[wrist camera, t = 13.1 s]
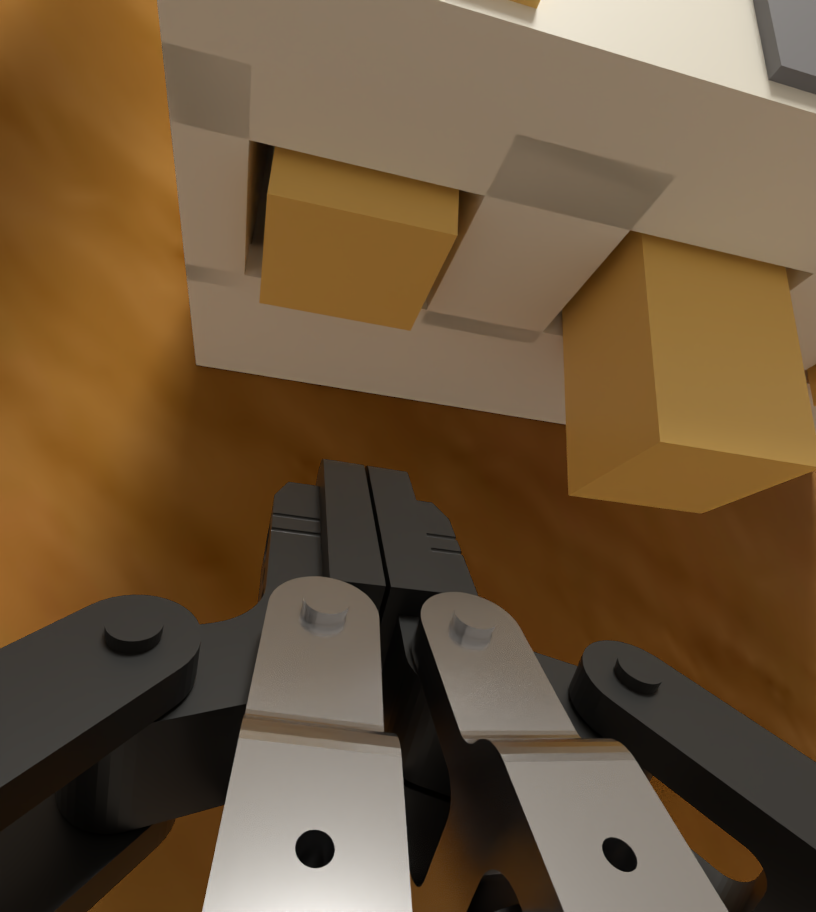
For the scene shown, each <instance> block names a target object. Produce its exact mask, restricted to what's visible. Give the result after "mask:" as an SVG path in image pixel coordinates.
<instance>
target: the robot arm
mask: <svg viewBox="0 0 816 912" xmlns="http://www.w3.org/2000/svg"><path fill="white" fill-rule="evenodd" d="M455 538H456V536H455V534H454V531H453V528H452V526H451V523H450V521H449V519H448V518H447V517H446V516H445V515H444V514H443V513H442V512H441V511H440V510H439V509H438V508H437V507H436V506H435V505H434V504H433V503H431V502H424V501H417V500H416V498H415V495H414V492H413V488H412V485H411V482H410V479H409V475H408V473H407V472H404V471H398V470H391V469H385V468H378V467H372V466H365V467H364V465H359V464H353V463H346V462H340V461H334V460H327V459H322V461H321V463H320V467H319V471H318V476H317V481H316V486H314V485H307V484H300V483H293V482H288V483H287V484H286V485H285V486H284V487H282V488H281V489H280V490H279V491H278V492H277V493H276V494H275V496H274V501H273V507H272V513H271V518H270V524H269V530H268V535H267V541H266V547H265V552H264V558H263V564H262V569H261V578H260V588H259V597H258V604H257V605H256V606H254V607H253V608H252V609H251V610H249V611H248V612H246V613H244V614H242V615H240V616H238V617H235V618H232V619H229V620H225V621H221V622H215V623H208V624H201V625H199V623H198V621H197V619H196V618H195V617H194V615H193V614H192V613H191V612H190V611H188V610H187V609H186V608H185V607H183V606H181V605H179V604H178V603H176V602H173V601H171V600H168V599H165V598H161V597H157V596H149V595H124V596H118V597H112V598H108V599H105V600H101V601H99V602H96V603H94V604H92V605H89V606H87V607H85V608H83V609H81V610H79V611H77V612H75V613H73V614H71V615H69V616H67V617H65V618H63V619H60V620H58V621H56V622H54V623H52V624H50V625H48V626H46V627H44V628H42V629H40V630H38V631H36V632H34V633H32V634H30V635H27V636H25V637H23V638H21V639H19V640H17V641H15V642H13V643H11V644H9V645H7V646H5V647H3V648H1V649H0V912H87V911H88V910H89V909H91V908H92V907H93V906H94V905H95V904H96V903H97V902H98V901H99V900H100V899H101V898H102V897H103V896H105V895H106V894H107V893H108V892H109V891H110V890H111V889H112V888H113V887H114V886H115V885H116V884H118V883H119V882H120V881H121V880H122V879H123V878H124V877H125V876H126V875H127V874H128V873H129V872H131V871H132V870H133V869H134V868H135V867H136V866H137V865H138V864H139V863H140V862H141V861H142V860H144V859H145V858H146V857H147V856H148V855H149V854H150V853H151V852H152V851H153V850H154V849H155V848H157V847H158V846H159V844H160V843H161V842H162V841H163V840H164V839H165V838H166V836H167V835H168V833H169V832H170V830H171V829H172V826H173V824H174V822H175V819H176V818H178V817H182V816H185V815H189V814H193V813H196V812H200V811H204V810H207V809H211V808H214V807H218V806H222V805H224V810H223V815H222V820H221V824H220V829H219V834H218V839H217V843H216V848H215V853H214V858H213V862H212V867H211V872H210V877H209V881H208V886H207V891H206V896H205V900H204V905H203V910H202V912H816V762H814V761H813V760H811V759H810V758H808V757H807V756H805V755H804V754H802V753H801V752H799V751H798V750H796V749H795V748H793V747H792V746H790V745H789V744H787V743H786V742H784V741H783V740H781V739H780V738H778V737H777V736H775V735H774V734H772V733H770V732H769V731H767V730H766V729H764V728H763V727H761V726H760V725H758V724H757V723H755V722H754V721H752V720H751V719H749V718H748V717H746V716H745V715H743V714H742V713H740V712H739V711H737V710H736V709H734V708H733V707H731V706H730V705H728V704H726V703H725V702H723V701H722V700H720V699H719V698H717V697H716V696H714V695H713V694H711V693H710V692H708V691H707V690H705V689H704V688H702V687H701V686H699V685H698V684H696V683H695V682H693V681H692V680H690V679H689V678H687V677H686V676H684V675H682V674H681V673H679V672H678V671H676V670H675V669H673V668H672V667H670V666H669V665H667V664H666V663H664V662H663V661H661V660H660V659H658V658H657V657H655V656H653V655H652V654H650V653H648V652H646V651H644V650H642V649H640V648H638V647H635V646H633V645H630V644H626V643H623V642H618V641H609V640H605V641H598V642H594V643H592V644H590V645H589V646H588V647H587V648H586V649H585V651H584V653H583V655H582V657H581V660H580V662H579V664H578V666H575V665H572V664H569V663H566V662H563V661H560V660H557V659H554V658H551V657H548V656H545V655H542V654H539V653H536V652H533V651H532V649H531V647H530V645H529V643H528V641H527V640H526V638H525V636H524V634H523V632H522V630H521V629H520V627H519V625H518V624H517V622H516V621H515V620H514V619H513V618H512V616H511V615H510V614H508V613H507V612H506V611H505V610H504V609H502V608H501V607H499V606H498V605H496V604H494V603H492V602H491V601H489V600H486V599H484V598H482V597H478V594H477V591H476V589H475V586H474V584H473V581H472V578H471V576H470V573H469V570H468V568H467V565H466V563H465V560H464V557H463V555H461V549H460V547H459V544H458V542H457V540H455ZM652 776H654V777H656V778H657V779H658V780H660V781H661V782H662V783H664V784H665V785H666V786H667V787H669V788H670V789H671V790H673V791H674V792H675V793H676V794H678V795H679V796H680V797H682V798H683V799H684V800H686V801H687V802H688V803H689V804H691V805H692V806H693V807H695V808H696V809H697V810H698V811H700V812H701V813H702V814H704V815H705V816H706V817H708V818H709V819H710V820H711V821H713V822H714V823H715V824H717V825H718V826H719V827H720V828H722V829H723V830H724V831H726V832H727V833H728V834H729V835H731V836H732V837H733V838H735V839H736V840H737V841H739V842H740V843H741V844H742V845H744V846H745V847H746V848H747V849H748V850H750V851H751V852H752V854H753V855H754V856H755V857H756V858H757V859H758V861H759V862H760V864H761V866H762V867H763V871H762V872H761V873H760V875H759V876H758V877H757V878H756V879H755V880H753V881H750V882H738V881H735V880H732V879H730V878H728V877H726V876H724V875H723V874H721V873H720V872H719V871H717V870H716V869H715V868H714V867H712V866H711V865H710V864H709V863H708V862H706V861H705V860H704V859H703V858H701V857H700V856H699V855H698V854H697V853H695V852H694V851H693V850H692V849H690V848H689V846H688V845H687V843H686V841H685V840H684V838H683V836H682V835H681V833H680V832H679V830H678V828H677V827H676V825H675V823H674V822H673V820H672V818H671V817H670V815H669V814H668V812H667V810H666V809H665V807H664V805H663V804H662V802H661V800H660V799H659V797H658V796H657V794H656V792H655V791H654V789H653V787H652V786H651V784H650V783H649V782H650V780H651V778H652Z"/></svg>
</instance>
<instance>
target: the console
mask: <svg viewBox="0 0 816 912" xmlns="http://www.w3.org/2000/svg"><path fill="white" fill-rule="evenodd" d="M157 4H158V13H159V23H160V32H161V41H162V51H163V60H164V69H165V79H166V88H167V98H168V107H169V116H170V126H171V135H172V144H173V154H174V163H175V172H176V182H177V191H178V200H179V210H180V219H181V228H182V238H183V247H184V256H185V266H186V275H187V284H188V294H189V303H190V312H191V322H192V331H193V340H194V350H195V359H196V365H200V366H206V367H212V368H219V369H225V370H231V371H237V372H243V373H250V374H256V375H262V376H268V377H274V378H281V379H287V380H293V381H299V382H305V383H311V384H318V385H324V386H330V387H336V388H342V389H349V390H355V391H361V392H367V393H373V394H379V395H386V396H392V397H398V398H404V399H410V400H417V401H423V402H429V403H435V404H441V405H448V406H454V407H460V408H466V409H472V410H478V411H485V412H491V413H497V414H503V415H509V416H516V417H522V418H528V419H534V420H540V421H547V422H553V423H559V424H565V425H566V413H565V384H564V355H563V326H562V309H563V308H564V307H565V305H566V304H567V303H568V302H569V301H570V300H571V298H572V297H573V296H574V295H575V294H576V293H577V291H578V290H579V289H580V288H581V287H582V286H583V285H584V283H585V282H586V281H587V280H588V279H589V278H590V276H591V275H592V274H593V273H594V272H595V271H596V269H597V268H598V267H599V266H600V265H601V264H602V262H603V261H604V260H605V259H606V258H607V257H608V256H609V254H610V253H611V252H612V251H613V250H614V249H615V247H616V246H617V245H618V244H619V243H620V242H621V240H622V239H623V238H624V237H625V236H626V235H627V233H628V232H629V231H630V230H632V231H636V232H640V233H644V234H649V235H653V236H657V237H661V238H666V239H670V240H674V241H678V242H682V243H687V244H691V245H695V246H699V247H704V248H708V249H712V250H716V251H720V252H725V253H729V254H733V255H737V256H742V257H746V258H750V259H754V260H758V261H763V262H767V263H771V264H775V265H780V266H784V267H785V268H786V273H787V279H788V284H789V290H790V295H791V301H792V306H793V312H794V317H795V323H796V328H797V334H798V339H799V344H800V350H801V355H802V361H803V366H804V372H805V377H806V383H807V388H808V394H809V399H810V405H811V410H812V416H813V421H814V427H815V432H816V406H814V405H813V400H812V394H811V389H810V383H809V378H808V372H807V369H808V368H810V367H812V366H813V365H815V364H816V0H157ZM275 146H277V147H281V148H285V149H290V150H294V151H298V152H302V153H306V154H311V155H315V156H319V157H323V158H328V159H332V160H336V161H340V162H344V163H349V164H353V165H357V166H361V167H366V168H370V169H374V170H378V171H382V172H387V173H391V174H395V175H399V176H404V177H408V178H412V179H416V180H420V181H425V182H429V183H433V184H437V185H442V186H446V187H450V188H454V189H459V205H458V235H457V238H456V240H455V242H454V244H453V246H452V248H451V250H450V252H449V254H448V256H447V258H446V260H445V262H444V264H443V266H442V268H441V270H440V272H439V274H438V276H437V278H436V280H435V282H434V284H433V286H432V288H431V290H430V292H429V294H428V296H427V298H426V300H425V302H424V304H423V306H422V308H421V310H420V312H419V314H418V316H417V318H416V320H415V322H414V324H413V327H412V329H411V331H408V330H403V329H398V328H392V327H387V326H381V325H376V324H371V323H365V322H360V321H354V320H349V319H344V318H338V317H333V316H327V315H322V314H317V313H311V312H306V311H300V310H295V309H290V308H284V307H279V306H273V305H268V304H262V303H259V300H260V286H261V272H262V258H263V244H264V230H265V217H266V203H267V191H268V185H269V179H270V173H271V167H272V161H273V155H274V149H275Z"/></svg>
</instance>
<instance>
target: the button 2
mask: <svg viewBox="0 0 816 912" xmlns="http://www.w3.org/2000/svg"><path fill="white" fill-rule="evenodd" d="M562 326H563V355H564V384H565V413H566V442H567V471H568V496H575V497H583V498H590V499H597V500H605V501H612V502H619V503H627V504H634V505H641V506H649V507H656V508H663V509H671V510H678V511H685V512H693V513H700V514H702V513H705V512H707V511H710V510H713V509H715V508H718V507H720V506H723V505H726V504H728V503H731V502H734V501H736V500H739V499H741V498H744V497H747V496H749V495H752V494H755V493H757V492H760V491H762V490H765V489H768V488H770V487H773V486H775V485H778V484H781V483H783V482H786V481H789V480H791V479H794V478H796V477H799V476H802V475H804V474H807V473H810V472H812V471H815V470H816V432H815V427H814V421H813V416H812V410H811V405H810V399H809V394H808V388H807V383H806V377H805V372H804V366H803V361H802V355H801V350H800V344H799V339H798V334H797V328H796V323H795V317H794V312H793V306H792V301H791V295H790V290H789V284H788V279H787V273H786V268H785V267H784V266H780V265H775V264H771V263H767V262H763V261H758V260H754V259H750V258H746V257H742V256H737V255H733V254H729V253H725V252H720V251H716V250H712V249H708V248H704V247H699V246H695V245H691V244H687V243H682V242H678V241H674V240H670V239H666V238H661V237H657V236H653V235H649V234H644V233H640V232H636V231H632V230H630V231H629V232H628V233H627V235H626V236H625V237H624V238H623V239H622V240H621V242H620V243H619V244H618V245H617V246H616V247H615V249H614V250H613V251H612V252H611V253H610V254H609V256H608V257H607V258H606V259H605V260H604V261H603V262H602V264H601V265H600V266H599V267H598V268H597V269H596V271H595V272H594V273H593V274H592V275H591V276H590V278H589V279H588V280H587V281H586V282H585V283H584V285H583V286H582V287H581V288H580V289H579V290H578V291H577V293H576V294H575V295H574V296H573V297H572V298H571V300H570V301H569V302H568V303H567V304H566V305H565V307H564V308H563V309H562Z"/></svg>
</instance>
